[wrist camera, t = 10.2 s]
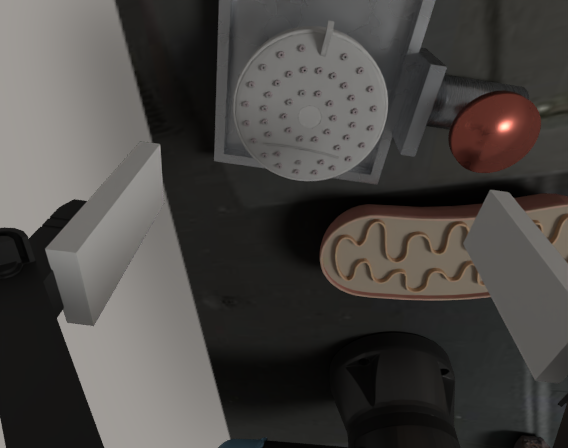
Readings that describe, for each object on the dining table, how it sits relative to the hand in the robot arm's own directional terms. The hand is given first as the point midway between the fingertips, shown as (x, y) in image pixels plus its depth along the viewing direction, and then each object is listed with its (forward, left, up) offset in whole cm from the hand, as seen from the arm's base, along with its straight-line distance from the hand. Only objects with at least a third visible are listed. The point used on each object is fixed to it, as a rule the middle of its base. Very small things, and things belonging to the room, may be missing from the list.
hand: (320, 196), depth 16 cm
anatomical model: (-11, -14, -17) cm, 25 cm away
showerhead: (0, +1, -16) cm, 16 cm away
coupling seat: (0, -4, -17) cm, 17 cm away
